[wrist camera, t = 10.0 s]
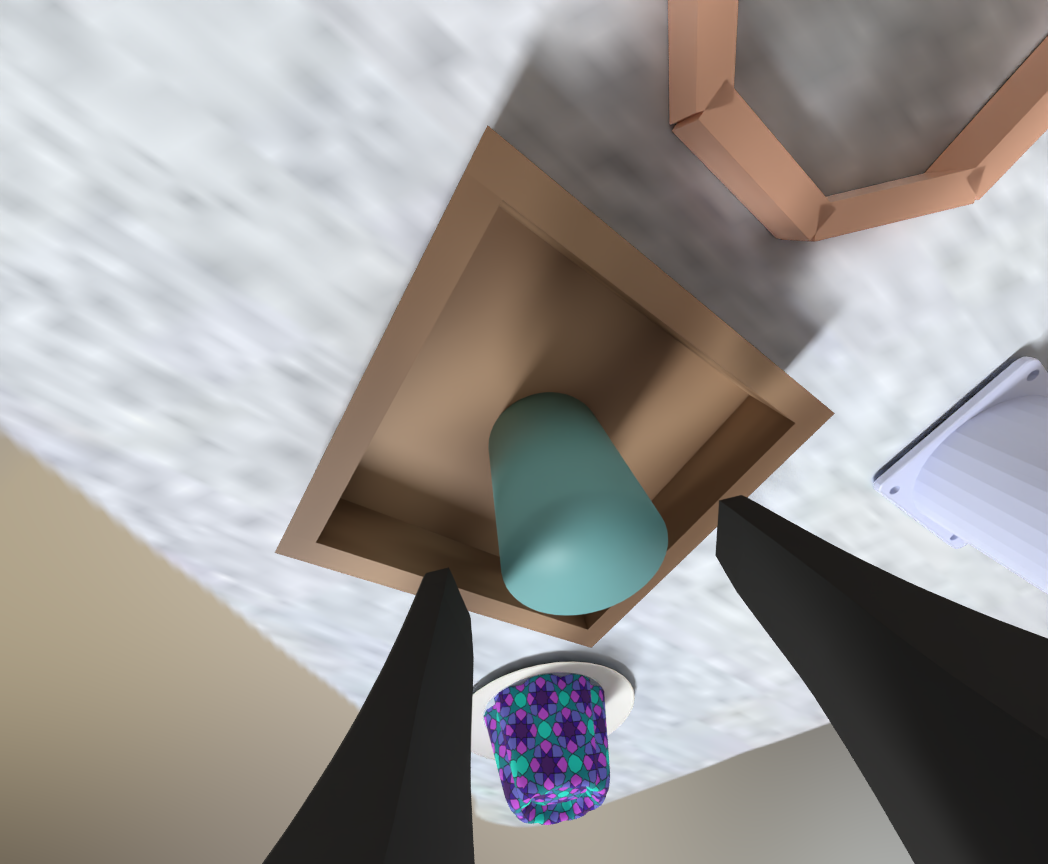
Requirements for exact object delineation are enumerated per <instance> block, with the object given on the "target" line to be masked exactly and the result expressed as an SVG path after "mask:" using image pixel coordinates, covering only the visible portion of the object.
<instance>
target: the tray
mask: <svg viewBox="0 0 1048 864" xmlns="http://www.w3.org/2000/svg"><path fill="white" fill-rule="evenodd" d="M544 392H555V393H562V394H566V395H569V396H572V397H574V398H576V399H578V400H580V401H581V402H583V403H584V404H585V405H586V406H587V407H588V408H589V409H590V410H591V411H592V412H593V414H594V415H595V417H596V418H597V420H598V421H599V423H600V424H601V426H602V427H603V429H604V430H605V432H606V433H607V435H608V436H609V438H610V440H611V441H612V443H613V444H614V446H615V447H616V449H617V450H618V452H619V453H620V455H621V456H622V458H623V459H624V461H625V462H626V464H627V465H628V467H629V468H630V470H631V471H632V473H633V474H634V476H635V477H636V479H637V480H638V482H639V483H640V485H641V486H642V488H643V489H644V491H645V492H646V494H647V495H648V497H649V498H650V500H651V501H652V503H653V504H654V506H655V508H656V509H657V511H658V512H659V514H660V515H661V517H662V519H663V520H664V522H665V525H666V528H667V533H668V547H667V551H666V555H665V557H664V560H663V562H662V564H661V566H660V568H659V569H658V571H657V572H656V574H655V575H654V576H653V577H652V579H651V580H650V581H649V582H648V583H647V584H646V585H645V586H644V587H642V588H641V589H640V590H639V591H638V592H636V593H635V594H633V595H632V596H630V597H629V598H627V599H625V600H624V601H622V602H620V603H618V604H616V605H614V606H611V607H608V608H606V609H603V610H599V611H596V612H592V613H587V614H580V615H553V614H547V613H543V612H539V611H536V610H534V609H531V608H529V607H527V606H526V605H524V604H522V603H521V602H519V601H518V600H517V599H516V598H515V597H514V596H513V595H512V594H511V593H510V592H509V590H508V589H507V587H506V585H505V583H504V581H503V577H502V573H501V564H500V554H499V545H498V535H497V526H496V516H495V506H494V497H493V487H492V478H491V468H490V459H489V447H488V445H489V437H490V433H491V430H492V428H493V426H494V424H495V422H496V420H497V419H498V418H499V416H500V415H501V414H502V413H503V412H504V411H505V410H506V409H507V408H508V407H509V406H511V405H512V404H513V403H515V402H517V401H518V400H520V399H522V398H524V397H527V396H530V395H533V394H537V393H544ZM834 414H835V413H834V412H832V411H831V410H830V409H829V408H828V407H826V406H825V405H824V404H823V403H822V402H820V401H819V400H818V399H817V398H815V397H814V396H813V395H812V394H811V393H809V392H808V391H807V390H806V389H805V388H803V387H802V386H801V385H800V384H799V383H797V382H796V381H795V380H794V379H793V378H791V377H790V376H789V375H788V374H787V373H785V372H784V371H783V370H782V369H781V368H779V367H778V366H777V365H776V364H775V363H773V362H772V361H771V360H770V359H769V358H767V357H766V356H765V355H764V354H762V353H761V352H760V351H759V350H758V349H756V348H755V347H754V346H753V345H752V344H750V343H749V342H748V341H747V340H746V339H744V338H743V337H742V336H741V335H740V334H738V333H737V332H736V331H735V330H734V329H732V328H731V327H730V326H729V325H728V324H726V323H725V322H724V321H723V320H722V319H720V318H719V317H718V316H717V315H716V314H714V313H713V312H712V311H711V310H709V309H708V308H707V307H706V306H705V305H703V304H702V303H701V302H700V301H699V300H697V299H696V298H695V297H694V296H693V295H691V294H690V293H689V292H688V291H687V290H685V289H684V288H683V287H682V286H681V285H679V284H678V283H677V282H676V281H675V280H673V279H672V278H671V277H670V276H669V275H667V274H666V273H665V272H664V271H663V270H661V269H660V268H659V267H658V266H656V265H655V264H654V263H653V262H652V261H650V260H649V259H648V258H647V257H646V256H644V255H643V254H642V253H641V252H640V251H638V250H637V249H636V248H635V247H634V246H632V245H631V244H630V243H629V242H628V241H626V240H625V239H624V238H623V237H622V236H620V235H619V234H618V233H617V232H616V231H614V230H613V229H612V228H611V227H610V226H608V225H607V224H606V223H605V222H603V221H602V220H601V219H600V218H599V217H597V216H596V215H595V214H594V213H593V212H591V211H590V210H589V209H588V208H587V207H585V206H584V205H583V204H582V203H581V202H579V201H578V200H577V199H576V198H575V197H573V196H572V195H571V194H570V193H569V192H567V191H566V190H565V189H564V188H563V187H561V186H560V185H559V184H558V183H557V182H555V181H554V180H553V179H552V178H550V177H549V176H548V175H547V174H546V173H544V172H543V171H542V170H541V169H540V168H538V167H537V166H536V165H535V164H534V163H532V162H531V161H530V160H529V159H528V158H526V157H525V156H524V155H523V154H522V153H520V152H519V151H518V150H517V149H516V148H514V147H513V146H512V145H511V144H510V143H508V142H507V141H506V140H505V139H504V138H502V137H501V136H500V135H499V134H497V133H496V132H495V131H494V130H493V129H491V128H490V127H489V126H487V128H486V130H485V132H484V134H483V136H482V138H481V140H480V142H479V144H478V146H477V148H476V150H475V152H474V154H473V156H472V158H471V160H470V162H469V164H468V166H467V168H466V170H465V172H464V174H463V176H462V178H461V180H460V182H459V184H458V186H457V188H456V190H455V192H454V194H453V196H452V198H451V200H450V202H449V204H448V206H447V208H446V210H445V212H444V214H443V216H442V218H441V220H440V222H439V224H438V226H437V228H436V230H435V232H434V234H433V236H432V238H431V240H430V242H429V244H428V246H427V248H426V250H425V252H424V254H423V256H422V258H421V260H420V262H419V264H418V266H417V268H416V270H415V272H414V274H413V276H412V278H411V280H410V282H409V284H408V286H407V288H406V290H405V292H404V294H403V296H402V298H401V300H400V302H399V304H398V306H397V308H396V310H395V312H394V314H393V316H392V318H391V320H390V322H389V324H388V327H387V329H386V331H385V333H384V335H383V337H382V339H381V341H380V343H379V345H378V347H377V349H376V351H375V353H374V355H373V357H372V359H371V361H370V363H369V365H368V367H367V369H366V371H365V373H364V375H363V377H362V379H361V381H360V383H359V385H358V387H357V389H356V391H355V393H354V395H353V397H352V399H351V401H350V403H349V405H348V407H347V409H346V411H345V413H344V415H343V417H342V419H341V421H340V423H339V425H338V427H337V429H336V431H335V433H334V435H333V437H332V439H331V441H330V443H329V445H328V447H327V449H326V451H325V453H324V455H323V457H322V459H321V461H320V463H319V465H318V467H317V469H316V471H315V473H314V475H313V477H312V479H311V481H310V483H309V485H308V487H307V489H306V491H305V493H304V495H303V497H302V499H301V501H300V503H299V505H298V507H297V509H296V511H295V513H294V515H293V517H292V519H291V521H290V523H289V525H288V527H287V529H286V531H285V533H284V535H283V537H282V539H281V541H280V543H279V545H278V547H277V549H276V551H275V553H277V554H281V555H284V556H287V557H291V558H294V559H297V560H301V561H304V562H307V563H311V564H314V565H317V566H321V567H324V568H327V569H331V570H334V571H337V572H341V573H344V574H347V575H351V576H354V577H357V578H361V579H364V580H367V581H371V582H374V583H377V584H381V585H384V586H387V587H391V588H394V589H397V590H401V591H404V592H407V593H411V594H414V595H416V593H417V591H418V589H419V586H420V584H421V581H422V579H423V577H424V575H425V574H426V573H428V572H432V571H436V570H440V569H444V568H448V567H449V568H450V571H451V573H452V575H453V578H454V580H455V582H456V585H457V587H458V589H459V591H460V594H461V596H462V598H463V601H464V603H465V605H466V608H467V610H468V611H471V612H474V613H477V614H481V615H484V616H487V617H491V618H494V619H497V620H501V621H504V622H507V623H511V624H514V625H517V626H521V627H524V628H527V629H531V630H534V631H537V632H541V633H544V634H547V635H551V636H554V637H557V638H561V639H564V640H567V641H571V642H574V643H577V644H581V645H584V646H587V647H591V648H592V647H593V646H594V645H595V644H596V643H597V642H598V641H599V640H600V639H601V638H602V637H603V636H604V635H605V634H606V633H607V632H608V631H609V630H610V629H611V628H612V627H613V626H614V625H616V624H617V623H618V622H619V621H620V620H621V619H622V618H623V617H624V616H625V615H626V614H627V613H628V612H629V611H630V610H631V609H632V608H633V607H634V606H635V605H636V604H637V603H638V602H639V601H640V600H641V599H643V598H644V597H645V596H646V595H647V594H648V593H649V592H650V591H651V590H652V589H653V588H654V587H655V586H656V585H657V584H658V583H659V582H660V581H661V580H662V579H663V578H664V577H665V576H666V575H667V574H668V573H670V572H671V571H672V570H673V569H674V568H675V567H676V566H677V565H678V564H679V563H680V562H681V561H682V560H683V559H684V558H685V557H686V556H687V555H688V554H689V553H690V552H691V551H692V550H693V549H694V548H695V547H697V546H698V545H699V544H700V543H701V542H702V541H703V540H704V539H705V538H706V537H707V536H708V535H709V534H710V533H711V532H712V531H713V530H714V529H715V528H716V527H717V525H718V509H719V500H723V499H727V498H731V497H735V496H739V495H743V496H745V497H748V496H749V495H750V494H752V493H753V492H754V491H755V490H756V489H757V488H758V487H759V486H760V485H761V484H762V483H763V482H764V481H765V480H766V479H767V478H768V477H769V476H770V475H771V474H772V473H773V472H774V471H775V470H776V469H777V468H779V467H780V466H781V465H782V464H783V463H784V462H785V461H786V460H787V459H788V458H789V457H790V456H791V455H792V454H793V453H794V452H795V451H796V450H797V449H798V448H799V447H800V446H801V445H802V444H803V443H804V442H806V441H807V440H808V439H809V438H810V437H811V436H812V435H813V434H814V433H815V432H816V431H817V430H818V429H819V428H820V427H821V426H822V425H823V424H824V423H825V422H826V421H827V420H828V419H829V418H830V417H831V416H833V415H834Z"/></svg>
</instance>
